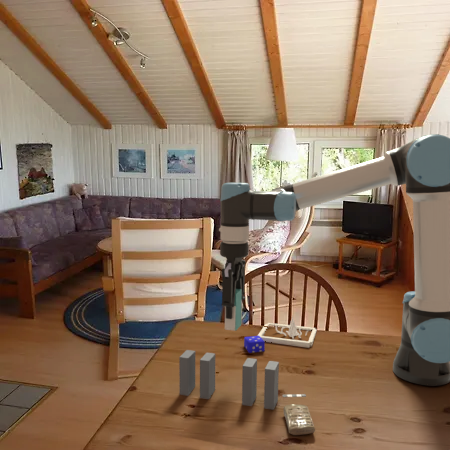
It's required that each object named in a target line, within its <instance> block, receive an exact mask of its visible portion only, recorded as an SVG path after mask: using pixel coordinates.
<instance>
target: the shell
mask: <svg viewBox="0 0 450 450" xmlns="http://www.w3.org/2000/svg"><path fill="white" fill-rule="evenodd" d="M295 321H296V320H294V316H293V314H292V315H291V320H290V323H289V325H290V327H289V326H288V328H287V329H288V330H285V332H284V329H285V327H281V328H280V330H278V326H276V324H277V323H274V322H271V323H272V324H274V325H275V326H274V328H275V331H276V333H278V334H281V335H284V336H285V337H287V335H288V336H289V338H290V337H291V338H292V340H295V337H297V336H298V339H302V337H301V336H302V335H303V332H302V331H301V330H302V329H301V328H299V329H297V328H296V326H297V325H296V322H295ZM308 333H309V330H306V331H305V336H307V335H308Z"/></svg>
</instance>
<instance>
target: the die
mask: <svg viewBox="0 0 450 450" xmlns="http://www.w3.org/2000/svg"><path fill="white" fill-rule="evenodd" d="M243 340H244V341H243V345H244V348H245V350H247V351H246V352H248V354H251V353H261V352H265V347H266V346H265V343H266V342H265V341H264V340H263V339H262V338H261V337H260V336H257V335H254V336H253V335H252V336H244V338H243Z"/></svg>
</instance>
